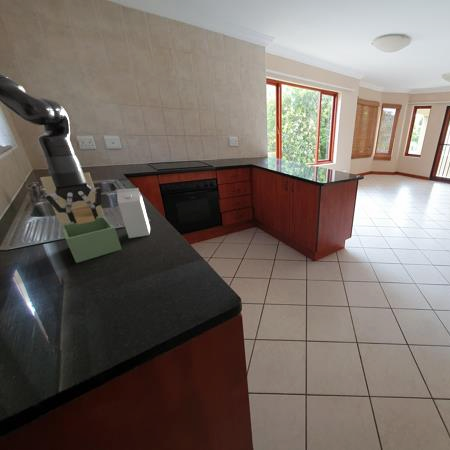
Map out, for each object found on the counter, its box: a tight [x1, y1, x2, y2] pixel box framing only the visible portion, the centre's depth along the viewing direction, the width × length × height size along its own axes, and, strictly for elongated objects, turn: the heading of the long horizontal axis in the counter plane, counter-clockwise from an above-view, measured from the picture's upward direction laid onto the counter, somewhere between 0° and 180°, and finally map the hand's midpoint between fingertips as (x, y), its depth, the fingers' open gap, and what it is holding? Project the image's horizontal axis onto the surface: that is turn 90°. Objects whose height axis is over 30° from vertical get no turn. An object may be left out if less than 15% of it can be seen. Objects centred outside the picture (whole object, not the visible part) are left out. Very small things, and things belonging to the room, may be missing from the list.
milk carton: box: [115, 187, 151, 239], centre depth 94 cm, size 7×7×19 cm
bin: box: [60, 215, 122, 264], centre depth 85 cm, size 16×13×9 cm
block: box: [71, 205, 95, 225], centre depth 80 cm, size 5×5×5 cm
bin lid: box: [39, 172, 105, 225], centre depth 86 cm, size 16×13×5 cm
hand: (85, 220), depth 81 cm, fingers closed on block, 4 cm apart
